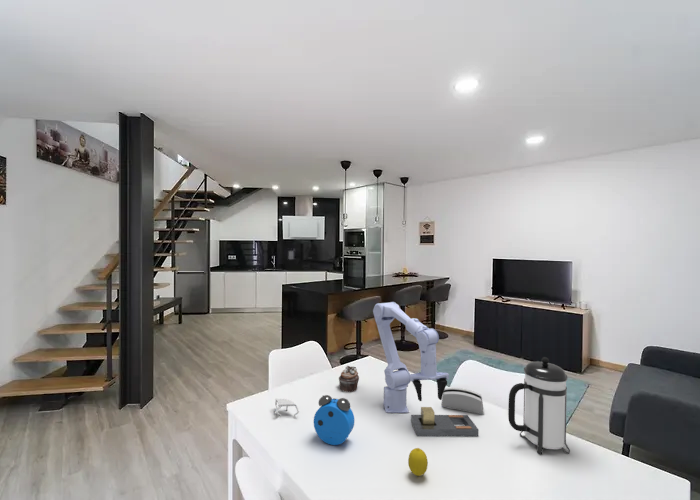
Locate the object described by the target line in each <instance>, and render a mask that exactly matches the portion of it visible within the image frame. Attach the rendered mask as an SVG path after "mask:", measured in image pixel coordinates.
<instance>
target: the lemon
mask: <svg viewBox="0 0 700 500" xmlns="http://www.w3.org/2000/svg"><path fill="white" fill-rule="evenodd" d="M407 461H408V462H407V463H408V468H409V470H410V471H411V473H412V474H413V475H414V476H416V477H420V476H421V477H422V476H423V475H424V474H426V472H427V469H428V467H429V465H428V463H429V462H428V458H427V454H426V452H425V451H424V450H423V449H422V448H419V447H415V448H413V449H412V450H410V453H409V455H408V460H407Z"/></svg>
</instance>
